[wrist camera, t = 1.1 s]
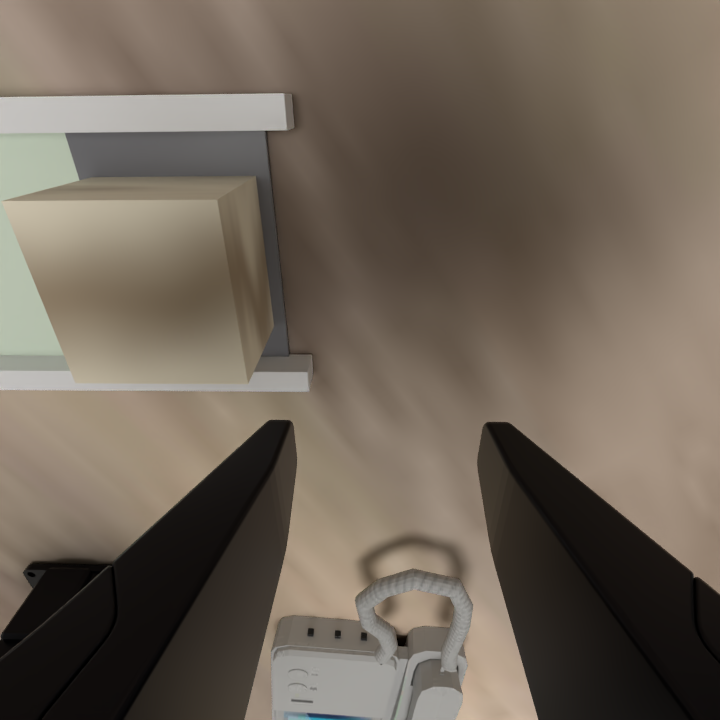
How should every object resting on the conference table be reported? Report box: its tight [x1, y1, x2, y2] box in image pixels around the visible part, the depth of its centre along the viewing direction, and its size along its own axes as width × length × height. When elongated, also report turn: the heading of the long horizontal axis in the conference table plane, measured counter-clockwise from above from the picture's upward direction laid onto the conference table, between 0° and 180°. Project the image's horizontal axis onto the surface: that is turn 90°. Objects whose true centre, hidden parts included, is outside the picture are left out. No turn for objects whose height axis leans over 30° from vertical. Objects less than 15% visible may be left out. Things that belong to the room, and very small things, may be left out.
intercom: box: [271, 569, 473, 720], centre depth 30 cm, size 13×4×25 cm
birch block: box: [1, 176, 274, 384], centre depth 15 cm, size 6×6×4 cm
